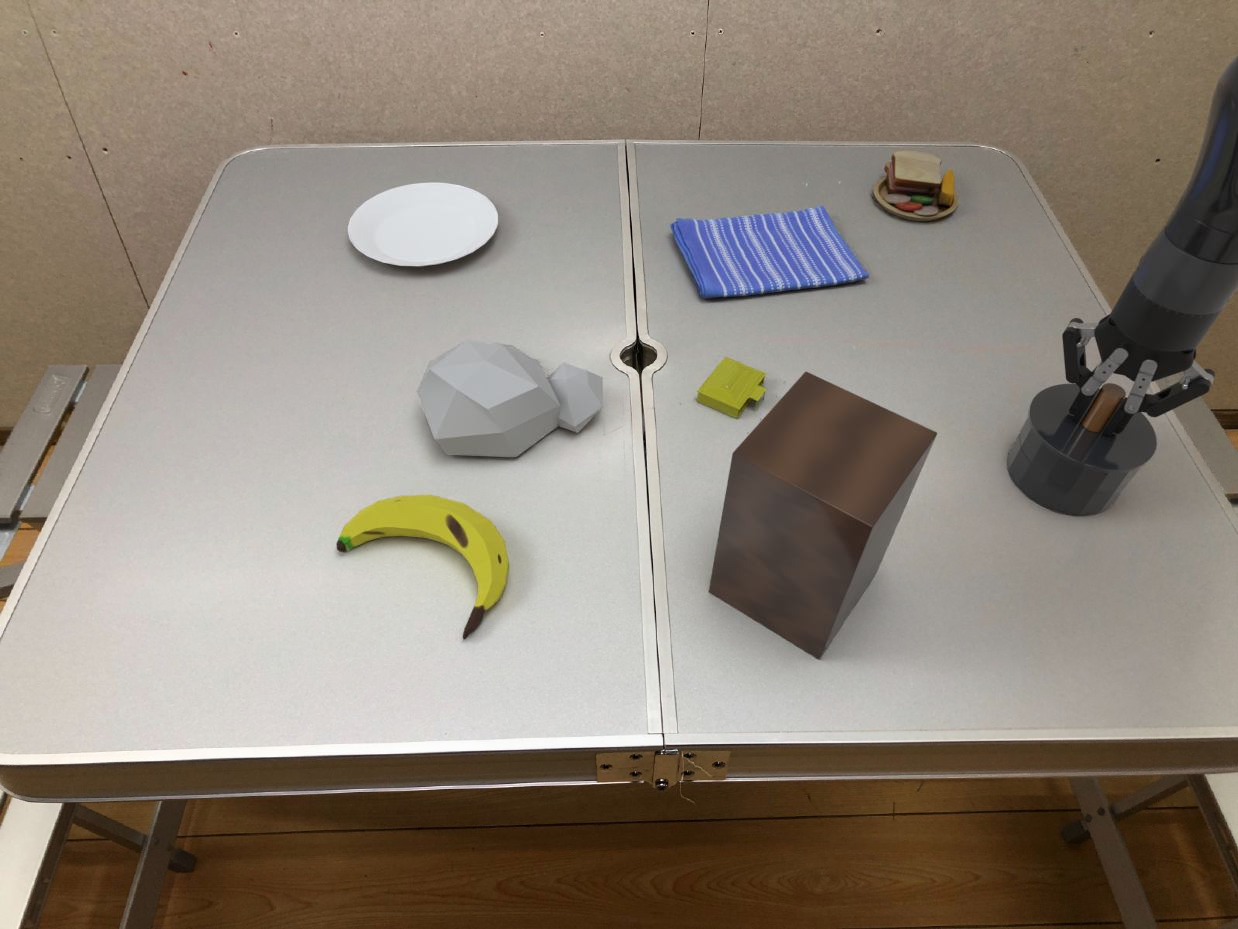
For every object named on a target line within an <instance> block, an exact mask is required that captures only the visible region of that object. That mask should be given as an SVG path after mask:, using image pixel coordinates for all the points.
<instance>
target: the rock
mask: <svg viewBox="0 0 1238 929" xmlns="http://www.w3.org/2000/svg"><path fill="white" fill-rule="evenodd" d="M603 378H604V377H603V376H602V375H601V376H600V375H599V374H596V373H594V372H592V371H589V370H587V369H584V368H581V367H578V366H575V365H572V364H569V363H568V362H567V363H566V362H563V363H562V364H560V365H559V366H558V367H557V368H556V369H554V371H553V372H551V373H550V374H549V375H548V376H547V375H546V373H545V371H544V369H543V367H542V365H541V362H540V361H539V360H538V359H536V358H534V357H531V356H530V355H528V354H527V353H525V352H523V350H521V349H519V348H518V347H516V346H515V345H512V344H506V343H501V342H483V341H476V340H469V339H466V340H464V341H462V342H461V343H459V344H457V345H456V346H454V347H451V348H450V349H448V350H446V351H445V352H443V353H442V354H440V355H438V356H436V357H435V358H433V359H430V361H429V362H428V364H427V365H426V369H425V370H424V373H423V375H422V378H421V380H420V383H419V385H418V387H417V389H416V393H417V396H418V400H419V402H420V404H421V407H422V411H423V412H424V415H425V418H426V421H427V424H428V426H429V429H430V431H431V434H432V437H433V439H434V440H435V442H436V443H437V444H438V445H439V447H440V448H441V450H442V451H443V452H444V453H445V455H446V456H447V455H449V456H473V457H477V456H478V457H496V458H497V457H500V458H517V457H518V456H520V455H521V454H523V453H524V452H526V451H527V450H528V449H530V448H531V447H532V446H533V445H535V444H536V443H538V442H539V441H540V440H541V439H543V438H544V437H546V436H547V435H548V434H550V433H551V432H552V431H554V430H555V429H557V428H558V427H560V428H563V429H566V430H568V431H572V432H575V433H577V434H578V433H580V432H581V430H582V429H583V428H584V427H585V426H587V425H588V423H589V422H591V420H592V419H593V418H594V417H595V416H596V415H597V414H598V413H599V411H601V409H602V408H603V395H604V394H603V393H604V392H603V390H604V388H603V387H604V386H603V384H604V379H603Z"/></svg>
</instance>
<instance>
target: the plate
mask: <svg viewBox="0 0 1238 929" xmlns="http://www.w3.org/2000/svg"><path fill="white" fill-rule="evenodd" d="M353 212H354V213H353V214H352V216H351V217H350V218H349V221H348V226H347V233H348V237H349V241H350V242H351V244H352V245H353V246H354V247H355V249H356V250H357V251H359V252H360V253H361V254H363V255H364V256H366V257H367V258H370V259H372V260H375V261H377V262H380V263H383V264H388V265H394V266H399V267H426V266H427V267H428V266H433V265H435V266H436V265H441V264H444V263H448V262H452V261H456V260H459V259H461V258H464V257H466V256H468V255H470V254H473V253H474V252H476V251H477V250H478V249H480V248H481V247H483V246H484V245H486V243H488V241H489V240H490V239H491V238H492V237H493V236H494V235H495V232H496V230H497V228H498V225H499V213H498V210H497V208H496V206H495V204H494V203H493V202H492V201H491V200H490V199H489V198H488V197H487V196H486V195H484V194H483V193H481V192H479V191H477V190H476V189H473V188H470V187H466V186H463V185H460V184H454V183H448V182H430V181H429V182H417V183H409V184H404V185H401V186H397V187H393V188H390V189H387V190H384V191H382V192H380V193H377V194H376V195H374V196H372V197H370V198H369V199H367V200H366V201H364V202H363V203H362V204H361V205H360V206H359V207H357V208H356V209H355V211H353Z"/></svg>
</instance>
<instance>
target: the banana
mask: <svg viewBox="0 0 1238 929" xmlns="http://www.w3.org/2000/svg"><path fill="white" fill-rule="evenodd" d="M398 536H399V537H400V536H401V537H413V538H424V539H428V540H431V541H435V542H438V543H442V544H444V545H447V546H449V547H450V548H452V549H453V550H455V551H457V552H458V553H459V554H461V555H462V556H463V557H464V558H465V559H466V560H467V562H468V564H469V565H470V567H471V568H472V571H473V575H474V577H475V579H476V582H477V598H476V600H475V604H474V606H473V608H472V610H471V612H470V615H469V617H468V619H467V621H466V624H465V627H464V628H463V632H462V639H463V641H465V640H466V639H467V638H468V637H469V636H470V635H472V633H474V632H475V630H476V629H477V628H478V627H479V626H480V625H481V623H482V621H483V618H484V616H485V614H486V612H487V611H488V610H489V609H490V608H491V607H493V606H495V604H496V603H497V602H498V601H499V600H500V598H501V596H502V594H503V592H504V590H505V589H506V586H507V581H508V576H509V570H510V563H509V556H508V551H507V546H506V541H505V539H504V538H503V536H502V535H501V533H500V532H499V530H498V528H496V526H495V525H494V523H493V521H492V520H490V519H489V518H487V517H485V516H484V515H483V514H481V513H480V512H478V511H476V510H475V509H474V508H472V507H470V506H469V505H468V504H466V503H465V502H461V501H457V500H452V499H448V498H444V497H441V496H437V495H433V494H415V495H413V494H412V495H409V494H408V495H399V496H394V497H390V498H384V499H380V500H377V501H376V502H373V503H372V504H370V505H368V506H366V507H364V508H363V509H360V511H358V512H357V513H356V514H355V515H354V516H353V517H352V518H351V519H350V520H349V521H348V522H347V523H345V525H344V526H343V528H342V529H341V532H340V534H339V536H338V538H337V540H336V543H335V544H336V549H337V551H338V552H339V553H347V552H348V551H349V550H351V549H353V548H355V547H357V546H359V545H362V544H364V543H366V542H369V541H371V540H376V539H380V538H383V537H398Z"/></svg>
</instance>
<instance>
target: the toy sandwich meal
mask: <svg viewBox="0 0 1238 929" xmlns="http://www.w3.org/2000/svg"><path fill="white" fill-rule="evenodd" d="M890 160H891V161H888V162H887V163H885V165H884V168H883V171H884V172H885V176H883V177H881V178H879V179H878V180H877V181H876V182H875V184H874V185H873V195H874V197H875V200H876V201H877V202H878V204H879V205H880V206H881V208H883V209H884V210H885V211H887V212H888V213H889V214H891V215H893V216H896V217H898V218H901V219H905V220H909V221H915V222H928V221H936V220H939V219H942V218H943V217H946V216H948V215H949V214H950V215H951V213H953V212H954V211H955V210H956V209H957V207H958V206H959V197H958V195H957V194H958V193H956V192H955V175H954V171H953V169H947V170H946V171H945V174H944V176H943V178H942V172H941V164H942V162H943V159H942V157H939V156H938V155H935V154H932V153H928V152H924V151H919V150H906V149H905V150H896V151H894V152H893V153H892V155H891V158H890Z"/></svg>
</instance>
